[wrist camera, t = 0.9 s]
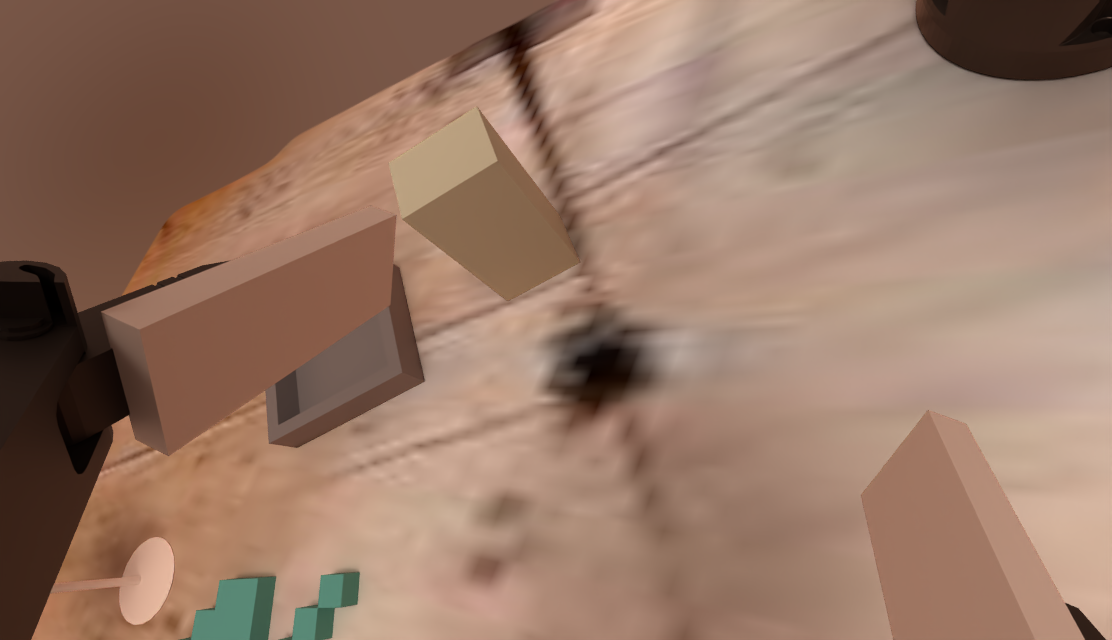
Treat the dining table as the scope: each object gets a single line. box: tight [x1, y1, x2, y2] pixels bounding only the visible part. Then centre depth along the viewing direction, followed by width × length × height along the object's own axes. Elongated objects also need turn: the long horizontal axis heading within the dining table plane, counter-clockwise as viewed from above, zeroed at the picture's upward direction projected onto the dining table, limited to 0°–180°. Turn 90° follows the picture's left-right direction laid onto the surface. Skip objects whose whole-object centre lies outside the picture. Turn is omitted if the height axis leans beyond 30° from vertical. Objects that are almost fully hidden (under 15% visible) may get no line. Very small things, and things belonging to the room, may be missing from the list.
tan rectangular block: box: [389, 106, 580, 301], centre depth 39 cm, size 7×5×14 cm
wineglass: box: [50, 537, 174, 625], centre depth 41 cm, size 8×9×20 cm
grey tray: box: [265, 264, 424, 448], centre depth 48 cm, size 14×12×3 cm
